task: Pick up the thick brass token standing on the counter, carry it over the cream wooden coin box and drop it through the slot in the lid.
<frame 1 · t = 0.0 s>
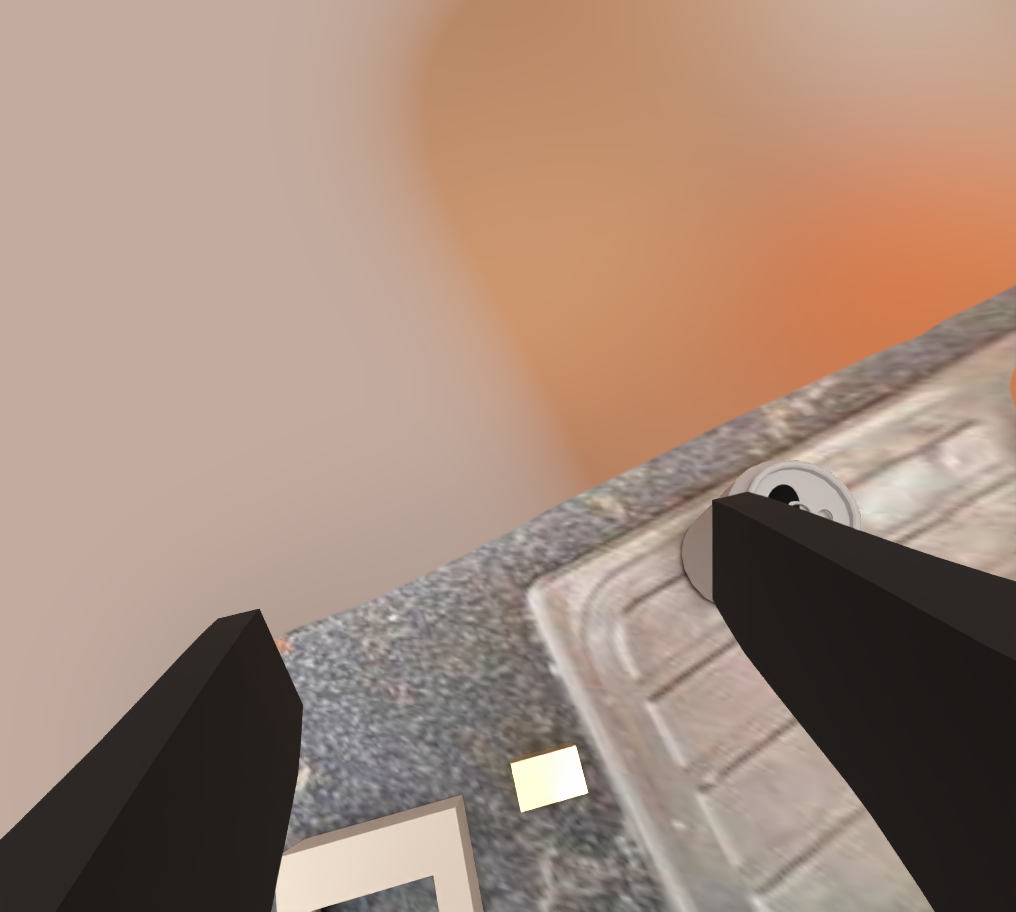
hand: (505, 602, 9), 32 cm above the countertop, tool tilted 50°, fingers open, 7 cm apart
token: (545, 771, 36), on the countertop
can: (727, 562, 42), on the countertop
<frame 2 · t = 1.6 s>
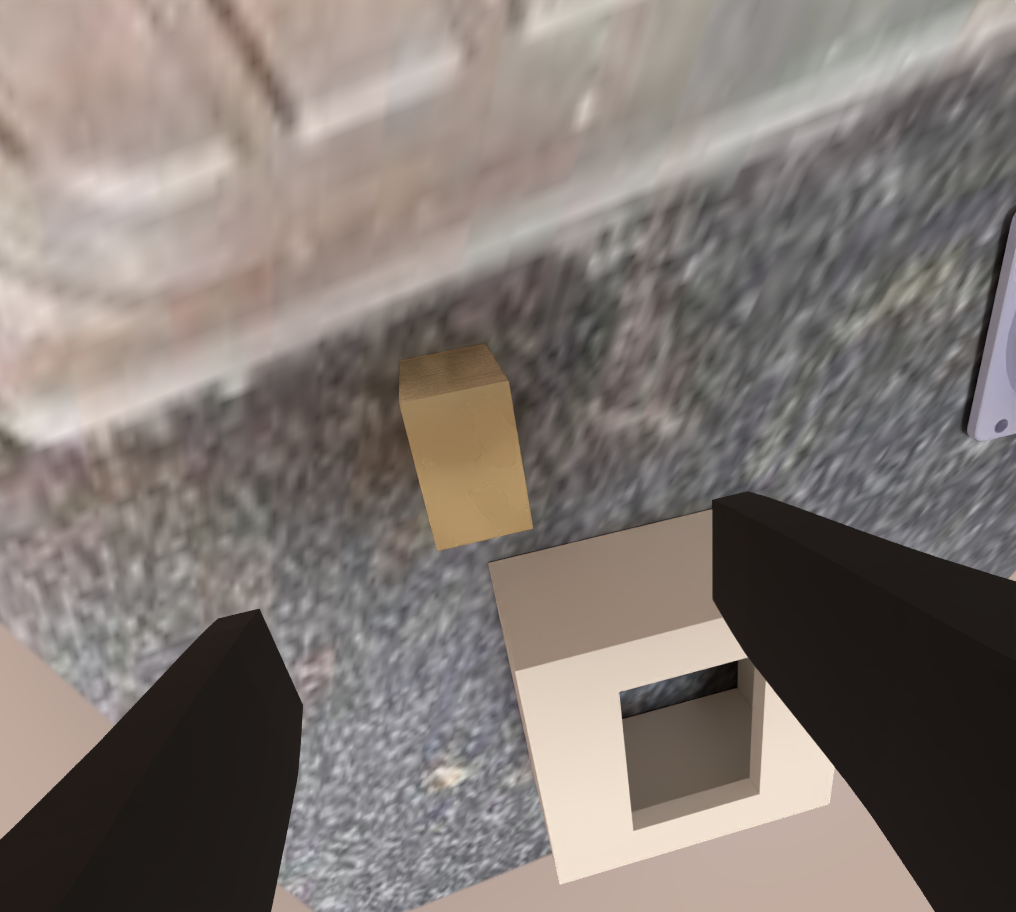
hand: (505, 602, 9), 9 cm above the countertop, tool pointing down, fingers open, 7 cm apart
token: (456, 415, 17), on the countertop
coin box: (634, 636, 22), on the countertop
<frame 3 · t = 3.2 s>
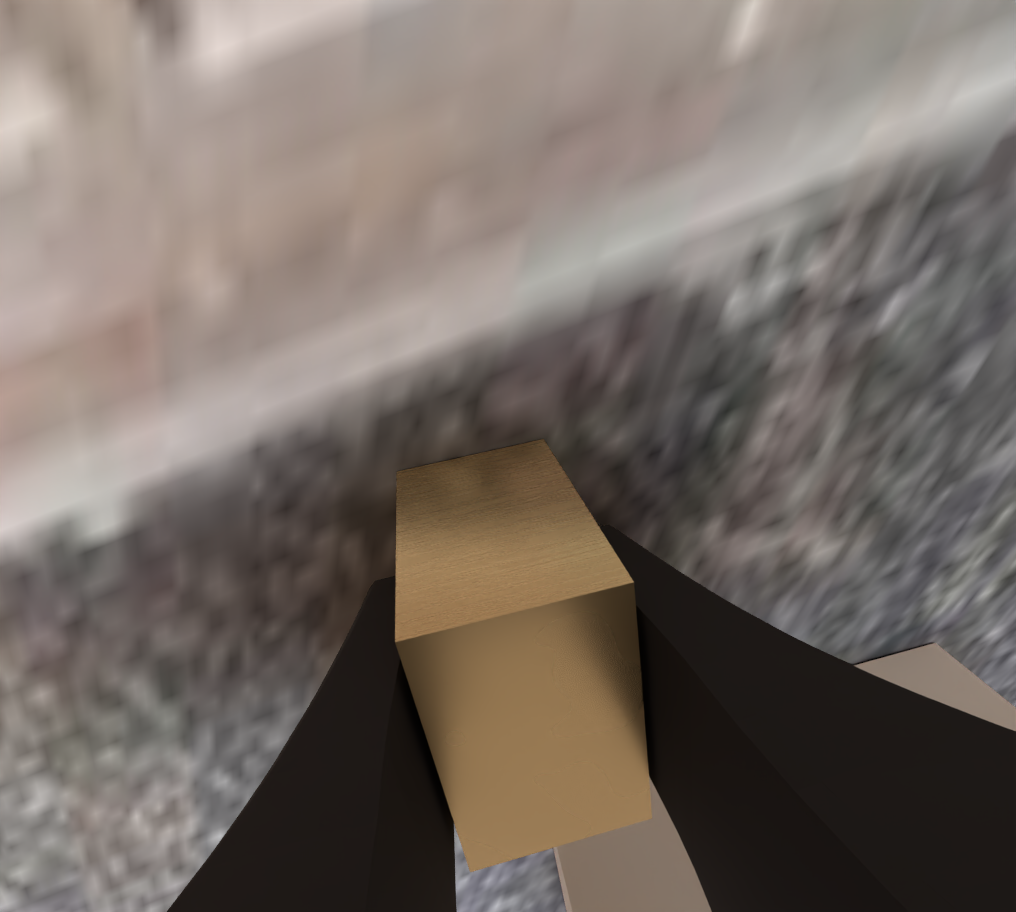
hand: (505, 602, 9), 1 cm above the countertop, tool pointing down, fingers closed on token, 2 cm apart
token: (491, 553, 10), on the countertop, touching gripper
coin box: (737, 827, 15), on the countertop
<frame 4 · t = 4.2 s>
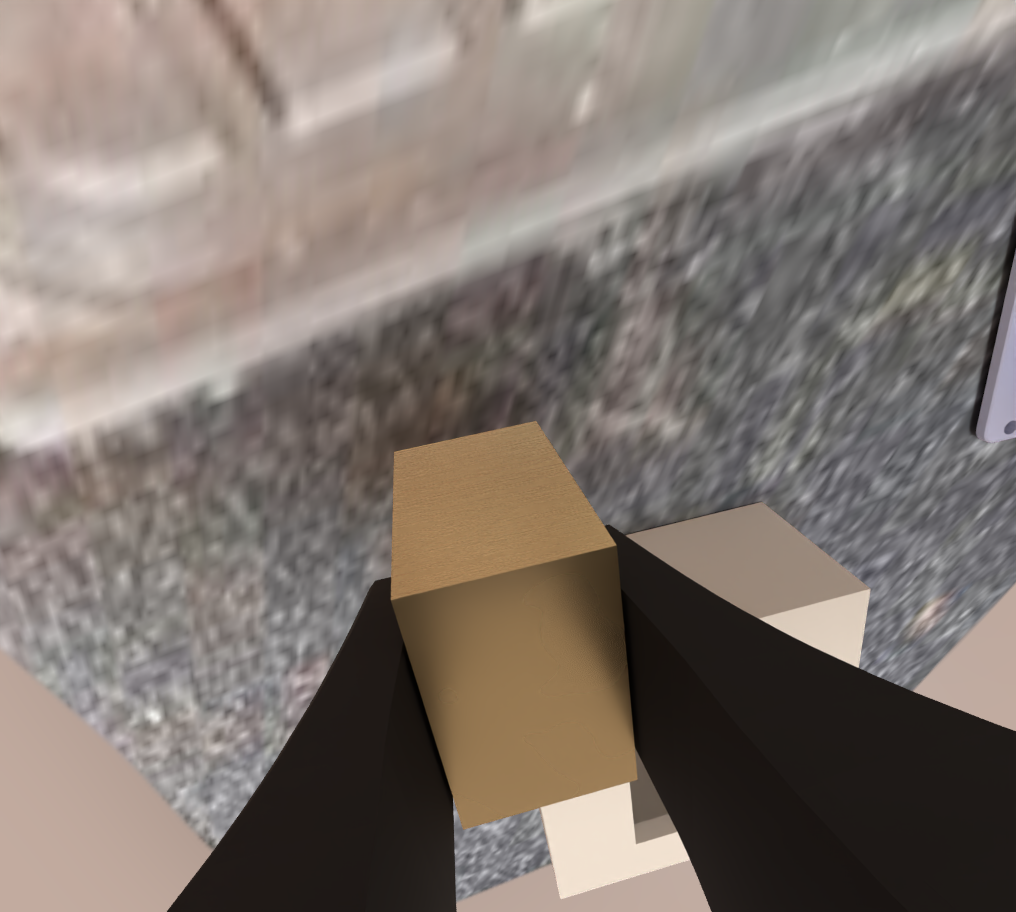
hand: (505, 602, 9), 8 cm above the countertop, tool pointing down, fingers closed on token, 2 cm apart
token: (486, 532, 10), point 7 cm above the countertop, touching gripper
coin box: (636, 643, 21), on the countertop
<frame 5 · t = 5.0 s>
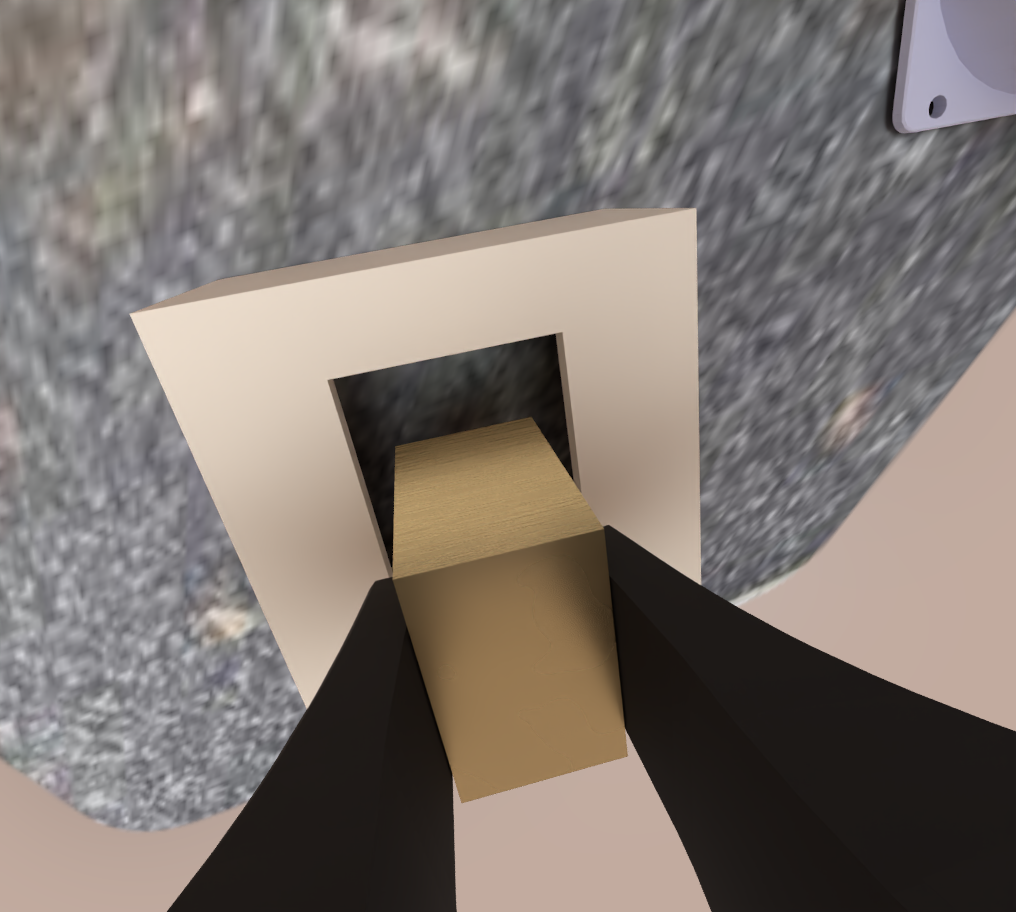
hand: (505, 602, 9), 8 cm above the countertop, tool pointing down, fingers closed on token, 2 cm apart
token: (483, 524, 11), point 6 cm above the countertop, touching gripper
coin box: (456, 422, 16), on the countertop
when the fingers open (7 cm above the countertop, at t = 5.5 s): token drops 5 cm, resting in coin box.
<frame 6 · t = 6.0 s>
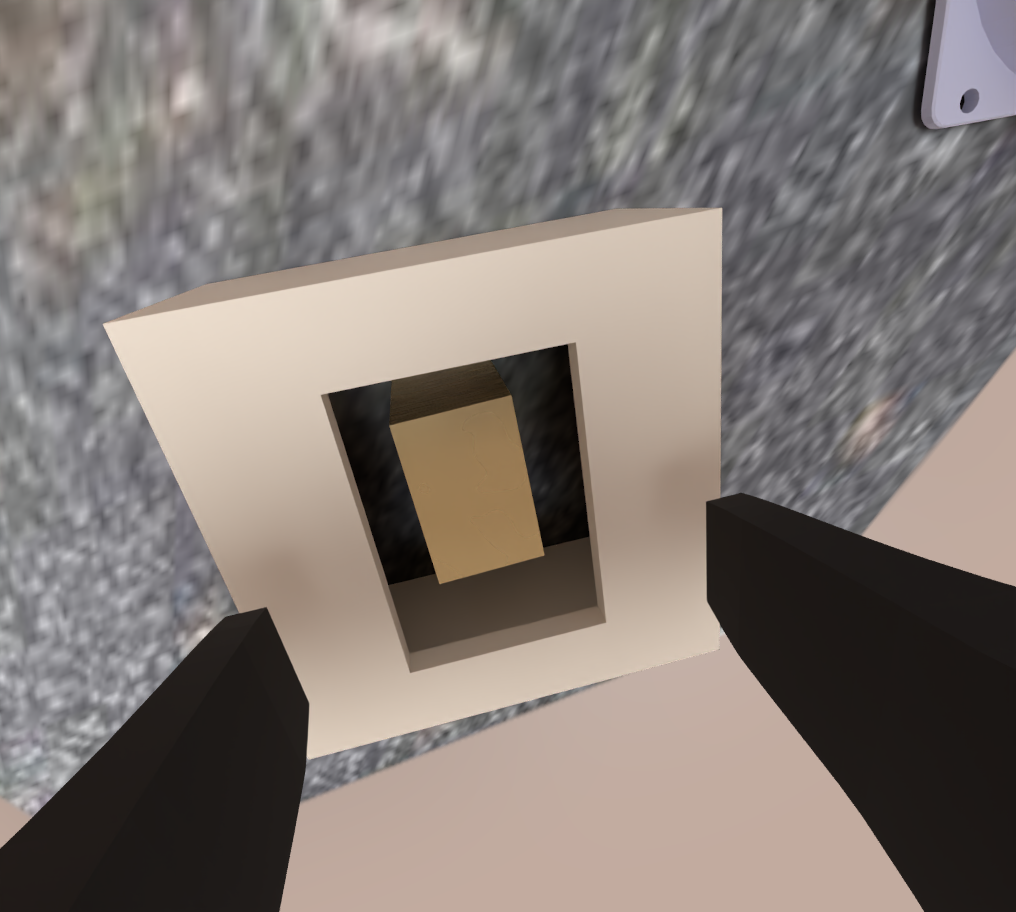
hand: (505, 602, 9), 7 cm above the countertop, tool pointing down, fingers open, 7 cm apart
token: (456, 429, 16), resting in coin box
coin box: (459, 433, 15), on the countertop
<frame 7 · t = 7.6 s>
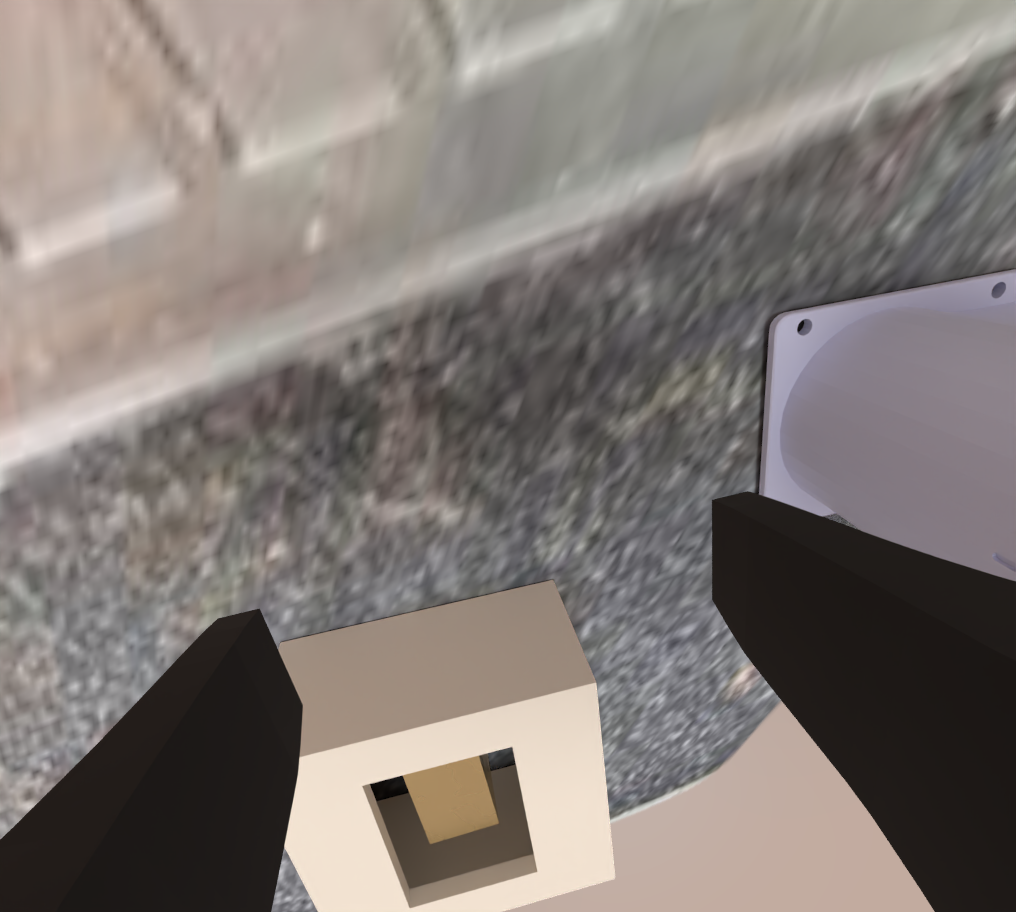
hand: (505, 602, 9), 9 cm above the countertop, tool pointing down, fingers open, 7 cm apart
token: (443, 703, 22), resting in coin box
coin box: (445, 707, 22), on the countertop
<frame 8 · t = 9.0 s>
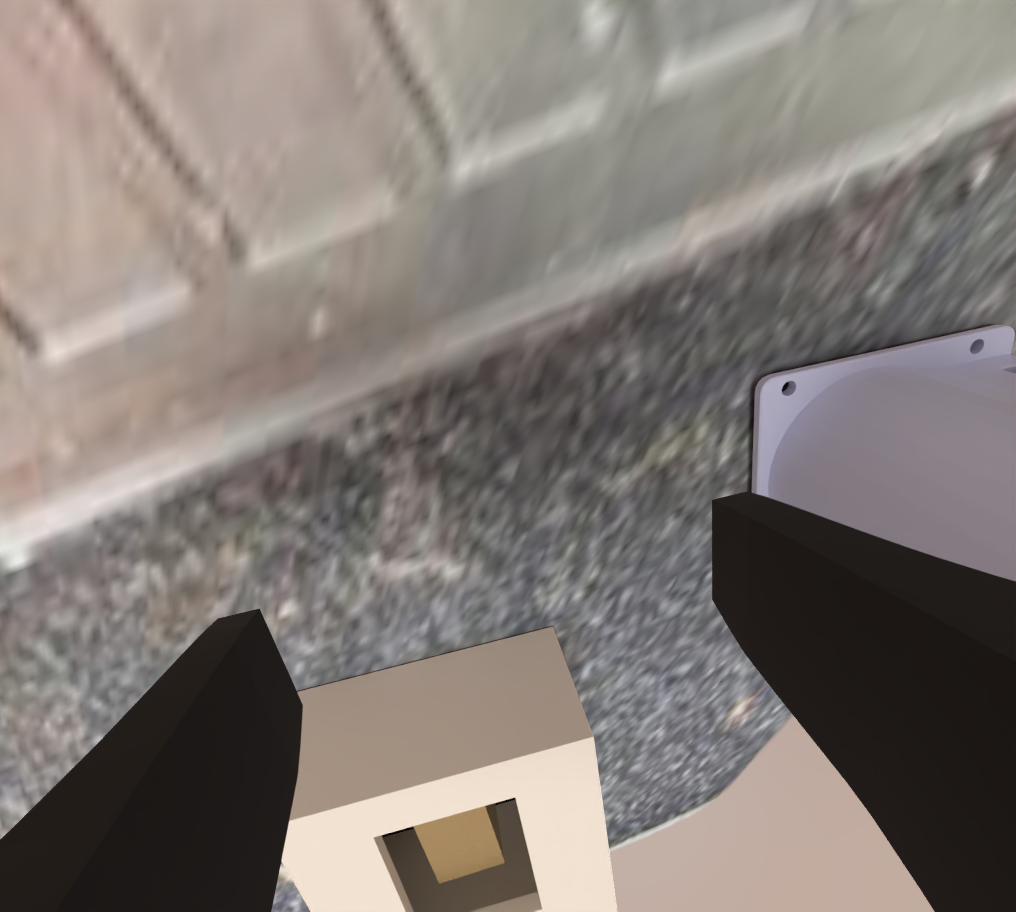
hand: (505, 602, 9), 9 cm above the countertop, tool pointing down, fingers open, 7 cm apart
token: (450, 743, 23), resting in coin box
coin box: (452, 746, 23), on the countertop
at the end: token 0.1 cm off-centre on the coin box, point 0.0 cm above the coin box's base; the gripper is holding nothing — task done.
